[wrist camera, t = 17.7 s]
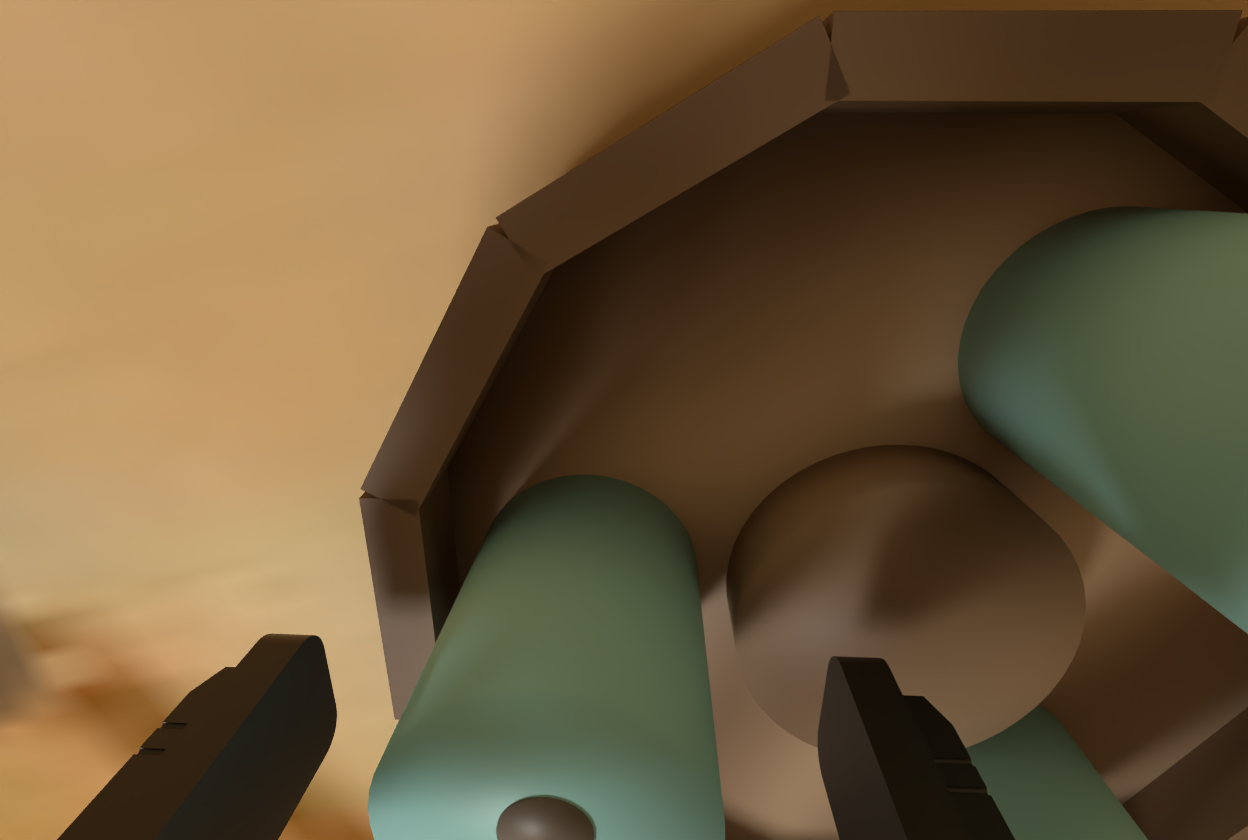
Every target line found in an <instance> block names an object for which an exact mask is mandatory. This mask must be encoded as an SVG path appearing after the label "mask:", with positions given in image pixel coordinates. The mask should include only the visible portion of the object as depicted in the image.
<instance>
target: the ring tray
mask: <svg viewBox="0 0 1248 840" xmlns="http://www.w3.org/2000/svg"><path fill="white" fill-rule="evenodd" d="M1241 13H1242V10H1140V11H834V12H833V13H832V14H831V15H830V16H829V17H828V18H826V19H825V20H824V21H823V22H822V20H821V18H820V16H818V17H817V18H815V19H813V20H812V21H810V22H809V23H807V24H805V25H804V26H802V27H801V28H799V29H797V30H796V31H794V32H793V33H791V34H789V35H788V36H786V37H785V38H783V39H781V40H780V41H778V42H777V43H775V44H773V45H772V46H770V47H769V48H767V49H765V50H764V51H762V52H760V53H759V54H757V55H756V56H754V57H752V58H751V59H749V60H748V61H746V62H744V63H743V64H741V65H740V66H738V67H736V68H735V69H733V70H732V71H730V72H728V73H727V74H725V75H724V76H722V77H720V78H719V79H717V80H716V81H714V82H712V83H711V84H709V85H708V86H706V87H704V88H703V89H701V90H700V91H698V92H696V93H695V94H693V95H692V96H690V97H688V98H687V99H685V100H684V101H682V102H680V103H679V104H677V105H676V106H674V107H672V108H671V109H669V110H667V111H666V112H664V113H663V114H661V115H659V116H658V117H656V118H655V119H653V120H651V121H650V122H648V123H647V124H645V125H643V126H642V127H640V128H639V129H637V130H635V131H634V132H632V133H631V134H629V135H627V136H626V137H624V138H623V139H621V140H619V141H618V142H616V143H615V144H613V145H611V146H610V147H608V148H607V149H605V150H603V151H602V152H600V153H599V154H597V155H595V156H594V157H592V158H591V159H589V160H587V161H586V162H584V163H583V164H581V165H579V166H578V167H576V168H574V169H573V170H571V171H570V172H568V173H566V174H565V175H563V176H562V177H560V178H558V179H557V180H555V181H554V182H552V183H550V184H549V185H547V186H546V187H544V188H542V189H541V190H539V191H538V192H536V193H534V194H533V195H531V196H530V197H528V198H526V199H525V200H523V201H522V202H520V203H518V204H517V205H515V206H514V207H512V208H510V209H509V210H507V211H506V212H504V213H502V214H501V215H499V216H498V217H496V219H497V220H498V222H499V224H496V225H492V226H489V227H487V229H486V231H485V233H484V235H483V237H482V239H481V241H480V243H479V245H478V247H477V249H476V251H475V254H474V256H473V258H472V260H471V262H470V264H469V266H468V268H467V270H466V272H465V274H464V276H463V278H462V280H461V282H460V285H459V287H458V289H457V291H456V293H455V295H454V297H453V299H452V301H451V303H450V305H449V307H448V309H447V311H446V313H445V316H444V318H443V320H442V322H441V324H440V326H439V328H438V330H437V332H436V334H435V336H434V338H433V340H432V342H431V344H430V346H429V349H428V351H427V353H426V355H425V357H424V359H423V361H422V363H421V365H420V367H419V369H418V371H417V373H416V375H415V377H414V380H413V382H412V384H411V386H410V388H409V390H408V392H407V394H406V396H405V398H404V400H403V402H402V404H401V406H400V408H399V411H398V413H397V415H396V417H395V419H394V421H393V423H392V425H391V427H390V429H389V431H388V433H387V435H386V437H385V439H384V442H383V444H382V446H381V448H380V450H379V452H378V454H377V456H376V458H375V460H374V462H373V464H372V466H371V468H370V470H369V473H368V475H367V477H366V479H365V481H364V483H363V485H362V487H361V489H362V490H364V491H365V493H364V494H363V495H362V496H361V497H360V498H359V500H360V506H361V512H362V518H363V524H364V531H365V537H366V543H367V549H368V555H369V562H370V568H371V574H372V580H373V586H374V593H375V599H376V605H377V611H378V617H379V624H380V630H381V636H382V642H383V648H384V655H385V661H386V667H387V673H388V679H389V686H390V692H391V698H392V704H393V710H394V717H395V719H398V720H400V718H401V716H402V713H403V711H404V709H405V707H406V705H407V703H408V701H409V698H410V696H411V694H412V692H413V690H414V688H415V686H416V684H417V681H418V679H419V677H420V675H421V673H422V671H423V669H424V666H425V664H426V662H427V660H428V658H429V656H430V654H431V652H432V649H433V647H434V645H435V643H436V641H437V639H438V637H439V635H440V632H441V630H442V628H443V626H444V624H445V622H446V620H447V617H448V615H449V613H450V611H451V609H452V607H453V605H454V603H455V600H456V598H457V596H458V594H459V592H460V590H461V588H462V585H463V583H464V581H465V579H466V577H467V575H468V573H469V571H470V568H471V566H472V564H473V562H474V560H475V558H476V556H477V554H478V551H479V549H480V547H481V545H482V543H483V541H484V539H485V536H486V534H487V532H488V530H489V528H490V526H491V524H492V522H493V521H494V519H495V518H496V516H497V515H498V513H499V512H500V511H501V510H502V509H503V508H504V506H505V505H506V504H507V503H508V502H509V501H511V500H512V499H513V498H514V497H516V496H517V495H518V494H519V493H521V492H523V491H525V490H526V489H528V488H530V487H531V486H534V485H536V484H538V483H541V482H543V481H546V480H550V479H553V478H557V477H562V476H569V475H586V474H588V475H600V476H606V477H611V478H616V479H619V480H622V481H625V482H628V483H631V484H633V485H635V486H638V487H640V488H642V489H644V490H646V491H647V492H649V493H650V494H652V495H654V496H655V497H657V498H658V499H659V500H660V501H662V502H663V503H664V504H665V505H666V506H668V507H669V509H670V510H671V511H672V512H673V513H674V514H675V515H676V516H677V517H678V519H679V520H680V522H681V523H682V524H683V526H684V527H685V529H686V531H687V533H688V535H689V537H690V539H691V542H692V545H693V548H694V551H695V556H696V562H697V571H698V580H699V589H700V598H701V607H702V617H703V626H704V635H705V644H706V653H707V663H708V672H709V681H710V690H711V699H712V709H713V718H714V727H715V736H716V745H717V754H718V764H719V773H720V782H721V791H722V800H723V810H724V819H725V840H840V839H839V836H838V832H837V829H836V825H835V822H834V818H833V814H832V811H831V807H830V804H829V800H828V797H827V793H826V789H825V786H824V782H823V779H822V775H821V770H820V765H819V757H818V727H819V720H820V714H821V708H822V701H823V695H824V688H825V682H826V675H827V669H828V664H829V661H830V659H831V657H833V656H843V657H870V658H882V659H884V660H885V661H886V662H887V664H888V666H889V667H890V669H891V672H892V674H893V676H894V678H895V680H896V682H897V684H898V686H899V688H900V690H901V692H902V694H903V695H909V696H924V697H925V698H926V699H927V700H928V701H929V702H930V703H931V704H932V705H933V706H934V707H935V708H936V709H937V710H938V711H939V712H940V713H941V714H942V715H943V716H944V717H945V718H946V719H947V720H948V721H949V722H950V723H951V724H952V725H953V726H954V728H955V730H956V732H957V733H958V735H959V737H960V739H961V741H962V743H963V744H964V746H965V748H967V747H969V746H972V745H974V744H977V743H979V742H982V741H984V740H986V739H988V738H990V737H992V736H994V735H996V734H998V733H1000V732H1002V731H1003V730H1005V729H1007V728H1008V727H1010V726H1011V725H1013V724H1014V723H1016V722H1017V721H1019V720H1020V719H1022V718H1023V717H1024V716H1025V715H1027V714H1028V713H1029V712H1030V711H1032V710H1033V709H1034V708H1035V707H1036V706H1037V705H1039V706H1041V707H1042V708H1044V709H1046V710H1047V711H1049V712H1050V713H1051V714H1052V715H1054V716H1055V717H1056V718H1057V719H1058V720H1059V721H1060V722H1061V724H1062V725H1063V726H1064V727H1065V729H1066V730H1067V731H1068V733H1069V734H1070V735H1071V737H1072V738H1073V739H1074V741H1075V742H1076V743H1077V745H1078V746H1079V747H1080V749H1081V750H1082V752H1083V753H1084V754H1085V756H1086V757H1087V758H1088V760H1089V761H1090V762H1091V764H1092V765H1093V766H1094V768H1095V769H1096V770H1097V772H1098V773H1099V774H1100V776H1101V777H1102V778H1103V780H1104V781H1105V783H1106V784H1107V785H1108V787H1109V788H1110V789H1111V791H1112V792H1113V793H1114V795H1115V796H1116V797H1117V799H1118V800H1119V801H1120V803H1121V804H1122V805H1123V807H1124V808H1125V809H1126V811H1127V812H1128V813H1129V815H1130V816H1131V818H1132V819H1133V820H1134V822H1135V823H1136V824H1137V826H1138V827H1139V828H1140V830H1141V831H1142V832H1143V834H1144V835H1145V836H1146V838H1147V839H1148V840H1248V634H1247V633H1246V632H1245V631H1243V630H1242V629H1241V628H1239V627H1238V626H1237V625H1235V624H1234V623H1233V622H1232V621H1230V620H1229V619H1228V618H1226V617H1225V616H1224V615H1223V614H1221V613H1220V612H1219V611H1217V610H1216V609H1215V608H1213V607H1212V606H1211V605H1210V604H1208V603H1207V602H1206V601H1204V600H1203V599H1202V598H1200V597H1199V596H1198V595H1197V594H1195V593H1194V592H1193V591H1191V590H1190V589H1189V588H1187V587H1186V586H1185V585H1184V584H1182V583H1181V582H1180V581H1178V580H1177V579H1176V578H1175V577H1173V576H1172V575H1171V574H1169V573H1168V572H1167V571H1165V570H1164V569H1163V568H1162V567H1160V566H1159V565H1158V564H1156V563H1155V562H1154V561H1152V560H1151V559H1150V558H1149V557H1147V556H1146V555H1145V554H1143V553H1142V552H1141V551H1140V550H1138V549H1137V548H1136V547H1134V546H1133V545H1132V544H1130V543H1129V542H1128V541H1127V540H1125V539H1124V538H1123V537H1121V536H1120V535H1119V534H1117V533H1116V532H1115V531H1114V530H1112V529H1111V528H1110V527H1108V526H1107V525H1106V524H1104V523H1103V522H1102V521H1101V520H1099V519H1098V518H1097V517H1095V516H1094V515H1093V514H1092V513H1090V512H1089V511H1088V510H1086V509H1085V508H1084V507H1082V506H1081V505H1080V504H1079V503H1077V502H1076V501H1075V500H1073V499H1072V498H1071V497H1069V496H1068V495H1067V494H1066V493H1064V492H1063V491H1062V490H1060V489H1059V488H1058V487H1057V486H1055V485H1054V484H1053V483H1051V482H1050V481H1049V480H1047V479H1046V478H1045V477H1044V476H1042V475H1041V474H1040V473H1038V472H1037V471H1036V470H1034V469H1033V468H1032V467H1031V466H1029V465H1028V464H1027V463H1025V462H1024V461H1023V460H1021V459H1020V458H1019V457H1018V456H1016V455H1015V454H1014V453H1012V452H1011V451H1010V450H1009V449H1007V448H1006V447H1005V446H1003V445H1002V444H1001V443H999V442H998V441H997V440H996V439H994V438H993V437H992V436H990V435H989V434H988V433H987V432H986V431H985V430H984V429H983V428H982V427H981V426H980V425H979V423H978V422H977V421H976V419H975V418H974V416H973V415H972V414H971V412H970V410H969V408H968V406H967V404H966V402H965V400H964V396H963V393H962V390H961V387H960V381H959V374H958V353H959V345H960V339H961V335H962V331H963V328H964V324H965V321H966V319H967V317H968V314H969V312H970V309H971V307H972V305H973V303H974V301H975V300H976V298H977V296H978V294H979V292H980V291H981V289H982V288H983V286H984V285H985V284H986V282H987V281H988V279H989V278H990V277H991V275H992V274H993V273H994V272H995V271H996V270H997V268H998V267H999V266H1000V265H1001V264H1002V263H1003V262H1004V261H1005V260H1006V259H1007V258H1008V257H1009V256H1010V255H1011V254H1012V253H1013V252H1015V251H1016V250H1017V249H1018V248H1019V247H1020V246H1022V245H1023V244H1024V243H1026V242H1027V241H1028V240H1030V239H1031V238H1033V237H1034V236H1035V235H1037V234H1039V233H1040V232H1042V231H1044V230H1046V229H1047V228H1049V227H1051V226H1053V225H1054V224H1057V223H1059V222H1061V221H1064V220H1066V219H1068V218H1070V217H1073V216H1076V215H1079V214H1083V213H1086V212H1089V211H1093V210H1098V209H1104V208H1109V207H1123V206H1136V207H1152V208H1168V209H1183V210H1199V211H1215V212H1231V213H1246V214H1248V17H1246V18H1243V19H1240V17H1241Z"/></svg>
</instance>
